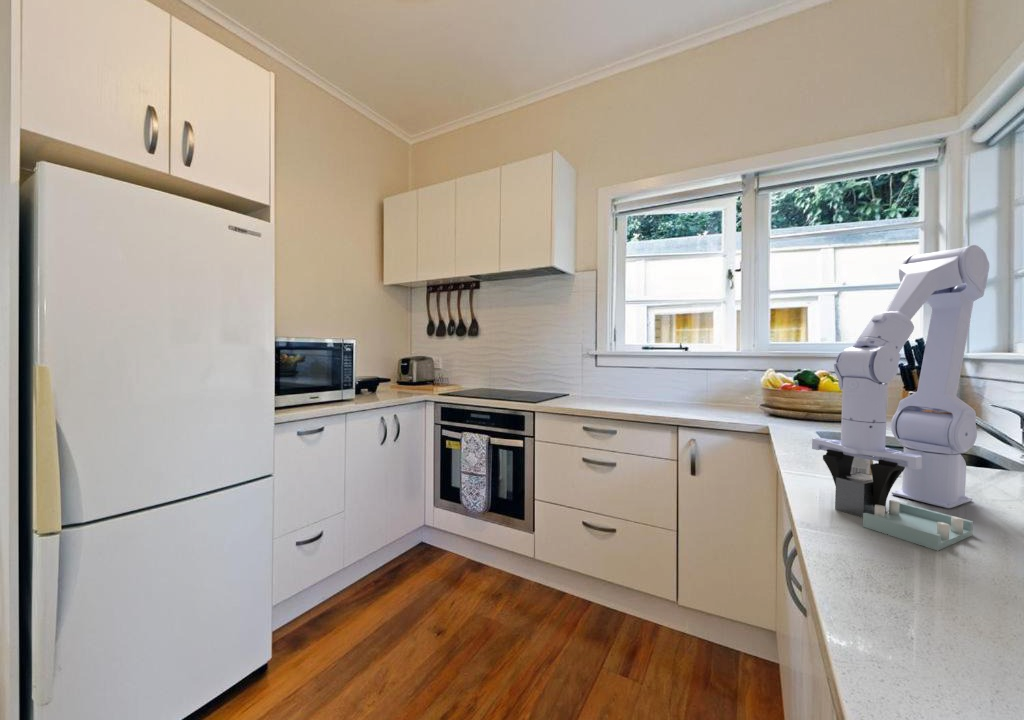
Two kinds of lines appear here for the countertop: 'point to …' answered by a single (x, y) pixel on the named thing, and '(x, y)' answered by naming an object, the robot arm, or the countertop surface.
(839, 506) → the dark grey block
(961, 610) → the countertop surface
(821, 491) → the countertop surface
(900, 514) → the tray
